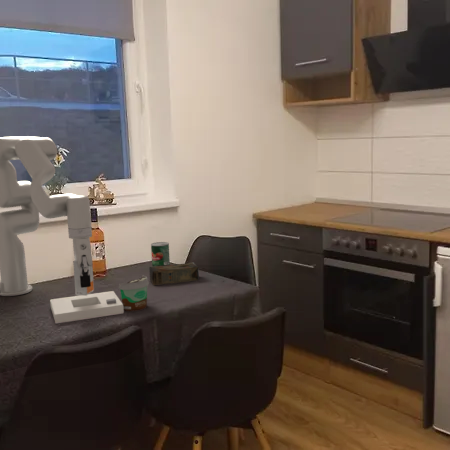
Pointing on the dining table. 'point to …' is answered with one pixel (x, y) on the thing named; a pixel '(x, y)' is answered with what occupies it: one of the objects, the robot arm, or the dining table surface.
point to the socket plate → (85, 306)
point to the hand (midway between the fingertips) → (84, 283)
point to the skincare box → (78, 289)
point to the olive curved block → (173, 273)
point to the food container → (134, 294)
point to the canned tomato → (160, 254)
